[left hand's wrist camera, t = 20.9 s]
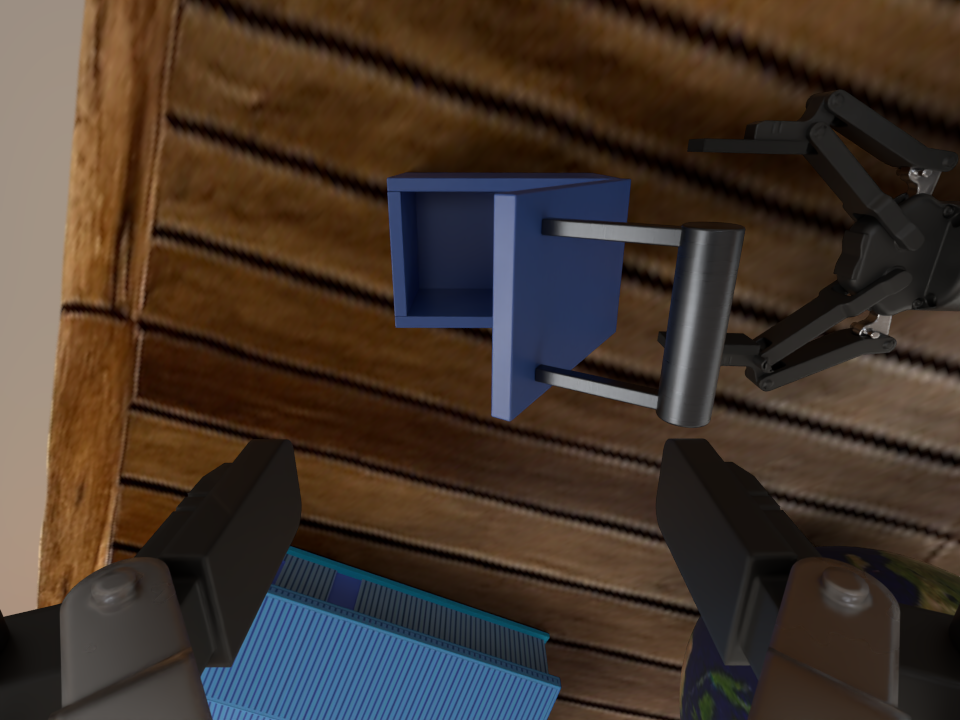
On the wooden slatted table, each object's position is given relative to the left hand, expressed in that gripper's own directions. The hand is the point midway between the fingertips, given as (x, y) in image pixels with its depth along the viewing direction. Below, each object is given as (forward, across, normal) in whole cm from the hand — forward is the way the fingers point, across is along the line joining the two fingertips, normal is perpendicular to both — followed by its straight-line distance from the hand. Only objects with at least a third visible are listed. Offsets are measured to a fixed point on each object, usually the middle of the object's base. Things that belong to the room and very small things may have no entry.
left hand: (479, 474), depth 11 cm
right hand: (+27, +14, 0) cm, 31 cm away
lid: (+18, +4, 0) cm, 19 cm away
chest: (+34, +2, 0) cm, 34 cm away
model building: (+34, -15, -46) cm, 59 cm away
